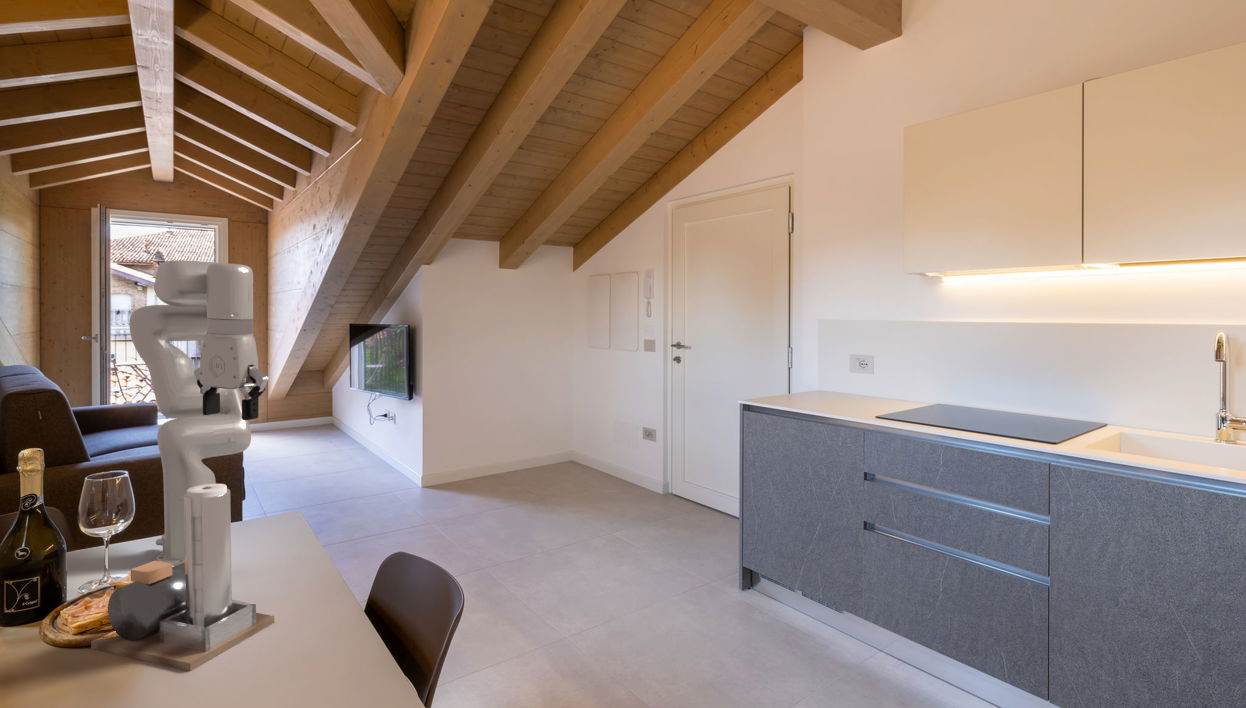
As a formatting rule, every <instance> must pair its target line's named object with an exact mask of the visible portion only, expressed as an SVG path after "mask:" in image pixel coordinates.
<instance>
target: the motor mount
mask: <svg viewBox="0 0 1246 708" xmlns="http://www.w3.org/2000/svg"><path fill="white" fill-rule="evenodd" d="M107 616H108V619H109V622H110V624H111V627H112V628H113V631H114V630H115V631H116V633H117V634H118V635H119V636H116V637H112V638H108V639H107V638H106V639H100V640H95V639H92V640H91V641H90V648H91V649H92V650H93V649H94V650H97V651H102V652H106V653H111V654H115V655H120V656H124V657H129V658H132V659H137V660H141V661H145V662H150V663H153V664H159V665H163V666H167V667H172V668H176V669H180V670H183V671H184V670H185V671H187V672H188V671H190V672H191V671H193V670H194V669H196V668H198V667H200V666H201V665H203V664H205V663H207V662H209V661H211V660H212V659H214V658H215V657H218V656H219V655H221V654H222V653H224V652H225V651H228V650H230V649H231V648H233V647H234V646H236V645H238V644H240V643H242V642H243V641H245V640H246V639H248V638H250V637H252V636H253V635H255V634H257V633H259V632H260V631H263V630H264V629H266V628H267V627H269V626H271V625H272V624H274V623H275V615H271V614H265V613H260V612H257V604H256V603H250V602H245V601H239V600H234V599H232V614H231V615H229V616H227V617H226V618H224V619H222V620H220V621H218V622H216V623H214V624H212V625H210V626H208V627H206V628H205V627H200V626H196V625H191V624H186V593H185V562H184V563H181V564H179V565H176V566H174V567H172V564H171V563H165V562H160V561H157V560H153V561H150V562H147V563H144V564H141V565H139V566H137V567H133V568H131V569H130V583H127V584H126V585H123V586H120V587H118V588H116V589H115V590H113V592H112V593H111V595H110V597H109V599H108V603H107Z"/></svg>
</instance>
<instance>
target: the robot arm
mask: <svg viewBox="0 0 1246 708" xmlns="http://www.w3.org/2000/svg"><path fill="white" fill-rule="evenodd" d="M154 279H155V280H154V285H153V291H154V294H155V295H156V297H157V298H158V300H160V301H161V302H162V303H164V304H152V305H145V306H141V307H139V308H136V309H135V310H134V311H133V312H132V313H130V318H129V323H128V324H129V334H130V338H131V341H132V344H133V346H134V348H135V351H136V353H137V354H138V355H139V357H140V358H141V359H142V361H143V362H144V364H145V366H146V368H147V369H148V372H149V377H150V381H151V384H152V388H153V393H154V397H155V402H156V404H157V407H158V410H159V412H160V414H161V415H162V416H164V417H166V418H169V419H170V420H168V421H165V422H164V423H163V424H162V425H160V427H159V428H158V431H157V435H156V436H157V437H156V438H157V439H156V441H157V446H158V449H159V450H158V451H159V455H160V456H159V457H160V459H161V460H160V461H161V466H162V474H163V475H162V477H163V480H162V481H163V506H164V507H163V509H164V510H163V515H164V517H163V518H164V533H163V534H162V535H161V538H158V539H156V540H155V545H156V546H162V551H161V552H160V553H158V555H157V556H156V561H162V562H165V563H171V564H172V565H173V566H176V565H179V564H181V563H184V562H185V542H184V495H185V494H186V491H187V489H189V488H191V487H194V486H198V485H205V484H217V481H216V477H215V473H214V472H213V471H212V470H211V469H210V468H209V467H208V466H207V465H205V464H204V462H202V460H204V459H208V458H212V457H213V458H214V457H220V456H228V455H234V454H235V455H236V454H240V453H243V452H244V451H246V450H247V449H248V448H249V447H250V444H251V442H252V432H251V431H252V430H251V426H250V424H249V421H250V420H255V419H256V420H257V419H259V415H260V414H259V411H260V410H259V409H260V408H259V407H260V406H259V404H260V403H259V400H260V399H261V398H262V395H263V393H264V392H265V391H266V386H267V384H268V382H269V376H267V375H266V374H265V373H263V372H262V371H261V370H260V369H259V359H258V358H259V356H258V352H257V351H258V349H257V344H256V338H255V336H254V272H253V270H252V268H251V267H250V266H248V265H245V264H239V263H226V262H225V263H224V262H214V261H213V262H212V261H199V260H182V259H174V260H167V261H164V262H162V263H160V264H159V266H158V267H157V270H156V274H155V278H154ZM194 341H195V342H200V341H202V343H201V348H200V349H201V350H200V356H199V357H200V358H199V367H198V368H196V369H195V365H194V363H193V359H192V358H191V357H190V356H189V355H187V353H185V352H184V351H183V350H182V349H181V348H179V347H177V346H175V345H173V344H172V343H171V342H194ZM249 389H250V390H249ZM242 396H243V398H244V399H242Z"/></svg>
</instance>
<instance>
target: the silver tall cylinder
mask: <svg viewBox="0 0 1246 708" xmlns="http://www.w3.org/2000/svg"><path fill="white" fill-rule="evenodd" d="M231 517H232V516H231V490H230V489H229V488H228V487H227V485H226V484H225V483H216V484H205V485H198V486H194V487H191V488H189V489H187V491H186V494H185V495H184V542H185V593H186V624H191V625H196V626H200V627H205V628H206V627H208V626H210V625H212V624H214V623H216V622H218V621H220V620H222V619H224V618H226V617H227V616H229V615H231V614H232V600H233V582H232V580H233V577H232V522H231V521H232V518H231Z"/></svg>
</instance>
